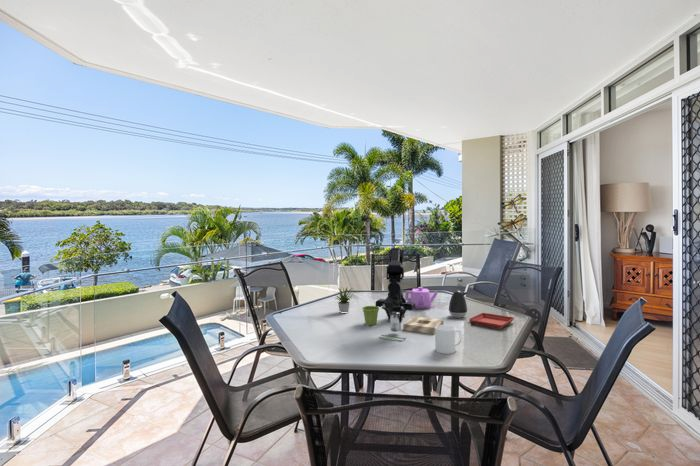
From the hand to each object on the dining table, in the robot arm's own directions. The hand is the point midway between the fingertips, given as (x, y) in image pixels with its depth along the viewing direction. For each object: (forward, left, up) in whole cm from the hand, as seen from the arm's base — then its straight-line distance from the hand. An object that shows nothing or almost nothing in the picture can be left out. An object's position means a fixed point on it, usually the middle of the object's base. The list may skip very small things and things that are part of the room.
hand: (395, 321), depth 182 cm
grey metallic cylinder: (0, 0, -4) cm, 4 cm away
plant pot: (-20, +14, -7) cm, 25 cm away
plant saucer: (+38, +42, -8) cm, 57 cm away
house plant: (-44, +29, -7) cm, 53 cm away
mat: (0, 0, -7) cm, 7 cm away
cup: (+28, -8, -7) cm, 30 cm away
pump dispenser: (+19, +48, -7) cm, 52 cm away
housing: (+9, +16, -7) cm, 20 cm away
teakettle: (-8, +64, -7) cm, 65 cm away
